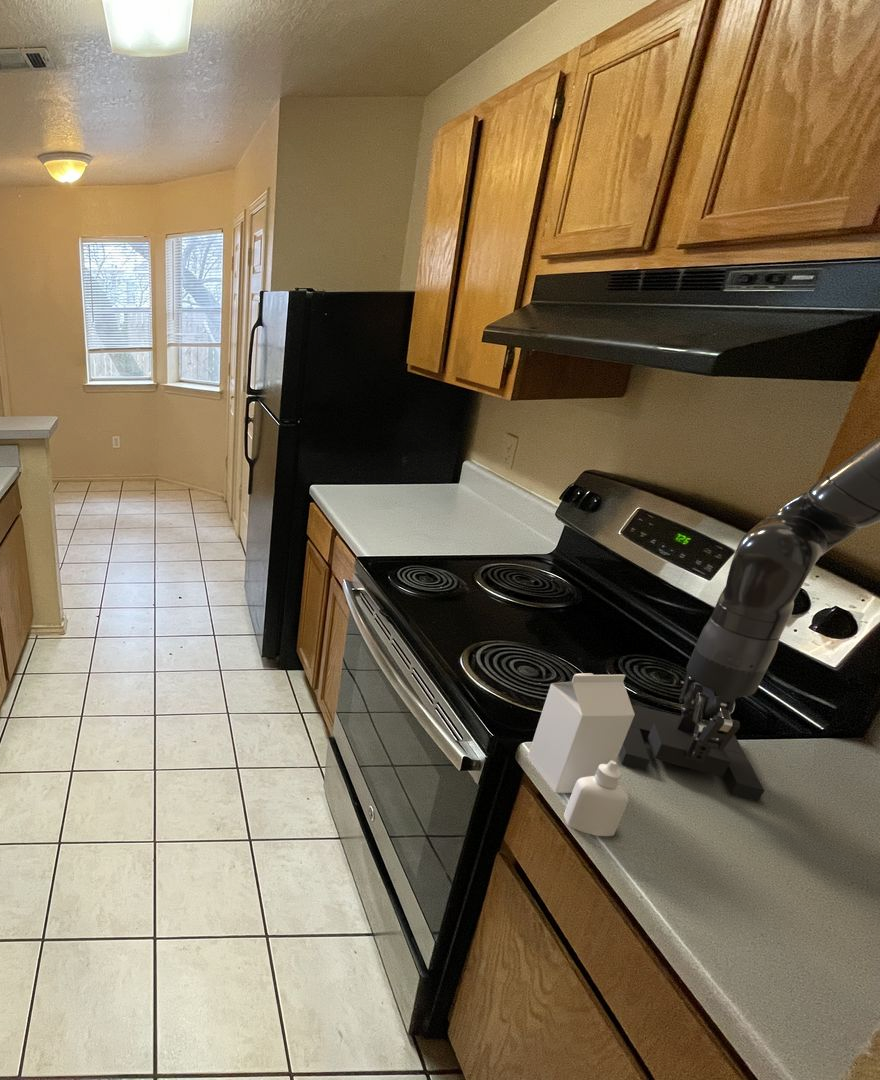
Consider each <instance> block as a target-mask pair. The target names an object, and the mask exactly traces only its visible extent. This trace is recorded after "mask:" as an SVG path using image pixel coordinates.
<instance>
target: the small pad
mask: <svg viewBox="0 0 880 1080" xmlns="http://www.w3.org/2000/svg"><path fill="white" fill-rule="evenodd" d="M692 737H693V733H691V732H686V731H682V730H678V729H675V728H670V727H666V726H662V725H658V724H653V727H652V729H651V731H650V734H649V736H648V740H649V742H648V744H649V746H650V748H651V751H652V755H653V757H654V760H656V761H662V762H665V763H668V764H672V765H676V766H680V767H684V768H688V769H691V770H695V771H699V772H702V773H706V774H710V775H714V776H718V777H721V778H723V775H724V773H725V771H726V769H727V767H728V765H729V763H730V760H729V758H728V756H727V754H726V752H725V750H724V749H723V750H718V749H714V748H711V750H710V752H709V754H708V756H707V758H706V760H705V762H704V763H698V762H695V761H691V760H688V759H686V757H685V752H686V749H687V747H688V745H689V743H690V741H691V738H692Z"/></svg>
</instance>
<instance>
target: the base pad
mask: <svg viewBox="0 0 880 1080" xmlns="http://www.w3.org/2000/svg"><path fill="white" fill-rule="evenodd" d="M631 705H632V708H633V711H634V714H635V715H634V718H633V720H632V722H631V725H630V727H629V730H628V732H627V735H626V737H625V740H624V742H623V745H622V747H621V750H620V752H619V755H618V757H619V761H620V765H622V766H625V767H629V768H633V769H637V770H641V771H644V772H646V770H647V768H648V765H649V764H650V761H651V759H650V756H649V755H650V754H649V752H648V749H647V746H646V744H645V743H649V740H648V736H649V734H650V731H651V729H652V727H653V724H658V725H662V726H666V727H670V728H676V726H677V724H678V722H679V720H680V717H681V715H677V714H675V713H674V714H673V713H669V712H665V711H661V710H656V709H653V708H648V707H644V706H640V705H636V704H632V703H631ZM705 728H706V727H704V728H703V730H702V732H703V731H704V730H705ZM724 750H725V752H726V754H727V756H728V758H729V760H730V763H729V765H728V767H727V769H726V771H725V773H724V775H723V777H722V778H723V780H724V782H725V784H726V786H727V789H728V791H729V793H730V795H733V796H735V797H740V798H743V799H747V800H750V801H754V802H759V801H760V800H761V798H762V797H763V794H764V792H765V788H764V786H763V785H762V783H761V781H760V779H759V777H758V775H757V774H756V771H755V769H754V768H753V766H752V764H751V762H750V761H749V758H748V757H747V755H746V753H745V751H744V750H743V747H742V746H741V744H740V742H739V740H738V739H737V737H736V734H735V735H734V736H733V737H732V738H731V740H730V741H729V742H728V744H727V745H726V746H725V748H724Z"/></svg>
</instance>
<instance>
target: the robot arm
mask: <svg viewBox="0 0 880 1080" xmlns="http://www.w3.org/2000/svg"><path fill="white" fill-rule="evenodd" d="M877 523H880V436H879V437H877V438H875V439H874V440H872V441H871V442H870V443H868V444H866V445H864V447H862V448H861V449H859V450H858V451H856V452H855V453H853V454H852V455H851V456H849V457H848V458H847V459H845V460H844V461H842V462H841V463H840V464H838V465H837V466H836V467H834V468H833V469H831V470H830V471H829V472H828V473H826V474H824V476H822V477H821V478H820V479H818V480H817V481H816V482H815V483H814V484H813V485H812V486H810V488H809V489H808V490H807V491H805V492H803V493H801V494H800V495H799V496H797V497H795V498H793V499H792V500H790V501H789V502H787V503H786V504H784V505H783V506H781V507H780V508H778V509H777V510H775V511H774V512H772V513H771V514H768V515H767V516H766V517H765V518H763V519H762V520H761V521H759V522H758V523H756V524H755V525H754V526H753V527H752V528H751V529H750V530H749V531H748V532H746V534H744V536H743V537H742V538H741V539H740V541H739V543H738V545H737V547H736V549H735V552H734V554H733V556H732V560H731V563H730V566H729V571H728V575H727V578H726V583H725V586H724V588H723V590H722V591H721V593H720V595H719V596H718V599H717V601H716V604H715V606H714V608H713V611H712V613H711V615H710V617H709V619H708V621H707V622H706V623H705V625H704V626H703V628H702V630H701V632H700V635H699V637H698V639H697V641H696V644H695V645H694V649H693V650H692V653H691V655H690V658H689V659H688V662H687V664H686V668H685V669H686V675H685V677H684V681H683V685H682V688H681V691H680V695H679V697H678V701H679V703H680V704H682V705H681V707H680V712H681V715H680V716H681V717H680V720H679V722H678V724H677V726H676V728H675V729H678V730H682V731H686V732H691V733H693V737H692V738H691V741H690V743H689V745H688V747H687V749H686V752H685V757H686V759H688V760H691V761H695V762H698V763H704V762H705V760H706V758H707V756H708V754H709V752H710V750H711V748H714V749H718V750H723V749H724V748H725V746H726V745H727V744H728V742H729V741H730V740H731V738H732V737H733V736H734V735H735V736H736V734H737V733H738V731H739V729H740V727H741V722H740V721H739V720H737V719H732V717H731V714H733V713H734V711H735V707H736V700H737V699H739V698H742V697H749V696H752V695H754V694H755V693H757V690H758V688H759V686H760V685H761V682H762V680H763V679H764V676H765V674H766V672H767V671H768V669H769V666H770V665H771V663H772V660H773V659H774V657H775V654H776V653H777V650H778V645H779V642H780V639H781V637H782V635H783V632H784V631H785V628H786V626H787V624H788V623H789V620H790V618H791V616H792V613H793V611H794V606H795V600H796V597H797V596H798V594H799V592H800V590H801V589H802V587H803V585H804V584H805V582H806V580H807V578H808V576H809V574H810V573H811V571H812V570H813V568H814V567H815V565H816V563H817V562H818V560H819V559H820V558H821V557H822V556H824V555H825V554H826V553H827V552H828V551H830V550H832V548H834V547H835V546H837V545H838V544H841V542H843V541H845V540H846V539H847V538H849V537H851V536H852V535H853V534H855V533H857V532H858V531H859V530H861V529H862V528H867V527H871V526H873V525H875V524H877ZM703 718H707V719H709V720H707V719H703ZM704 727H706V728H705V730H704V731H703V732H702V730H703V728H704Z"/></svg>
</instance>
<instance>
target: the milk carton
mask: <svg viewBox="0 0 880 1080" xmlns="http://www.w3.org/2000/svg"><path fill="white" fill-rule="evenodd" d="M625 678H626V674H621V673H620V674H594V673H592V672H587V673H586V672H585V673H583V672H582V673H581V672H580V673H574V675H573V676H572V679H571V681H563V682H551V683H550V686H549V688H548V692H547V695H546V698H545V701H544V705H543V708H542V711H541V713H540V717H539V719H538V723H537V727H536V729H535V733H534V736H533V739H532V741H531V744H530V748H529V751H528V754H527V759H528V760H529V761H530V762H531V763H532V765H533V766H534V768H535V769H536V770H537V772H538V773H539V774H540V776H541V777H542V778H543V779H544V781H545V782H546V783H547V784H548V785H549V787H550V788H551V790H552V791H553V792H554V793H555V794H572V791H573V789H574V786H575V784H576V782H577V780H578V779H580V778H583V777H589V776H595V774H596V772H597V769H598V767H599V765H600V764H608V763H609V762H610V761H611V760H612V761H615V762H616V763H617V760H618V757H619V752H620V750H621V747H622V745H623V742H624V740H625V737H626V735H627V732H628V730H629V727H630V725H631V722H632V720H633V718H634V715H635V714H634V711H633V708H632V705H633V704H632V703H631V700H630V696H629V694H628V692H627V688H626V686H625V685H626V684H625V682H624V680H625ZM631 704H632V705H631Z"/></svg>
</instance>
